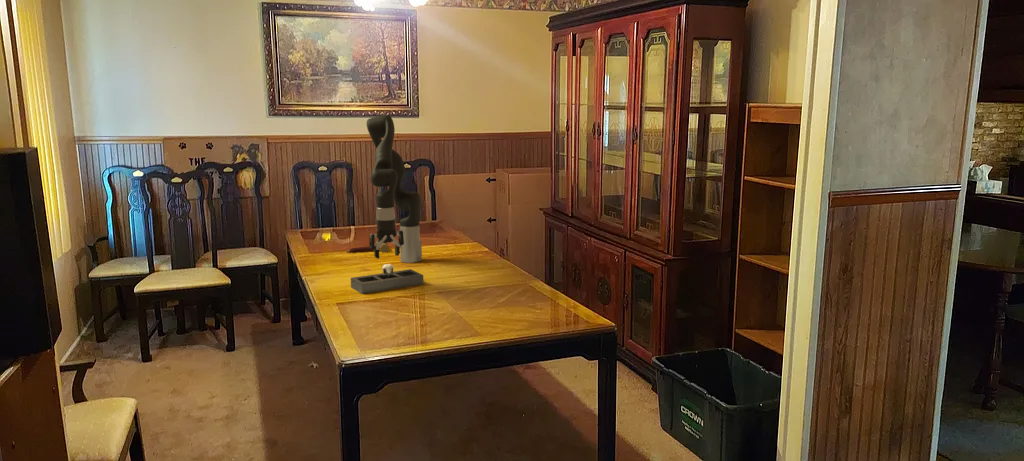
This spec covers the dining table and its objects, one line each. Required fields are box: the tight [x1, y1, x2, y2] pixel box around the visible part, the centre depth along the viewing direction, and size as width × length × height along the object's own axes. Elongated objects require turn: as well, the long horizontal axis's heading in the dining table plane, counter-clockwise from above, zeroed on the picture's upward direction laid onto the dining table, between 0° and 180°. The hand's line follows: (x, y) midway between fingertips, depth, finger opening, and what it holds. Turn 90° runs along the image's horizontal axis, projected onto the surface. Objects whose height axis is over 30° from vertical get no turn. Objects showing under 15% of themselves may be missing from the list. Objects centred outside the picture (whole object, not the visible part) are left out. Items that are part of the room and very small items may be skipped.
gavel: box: [345, 242, 390, 254], centre depth 354 cm, size 21×5×10 cm
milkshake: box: [379, 262, 394, 279], centre depth 288 cm, size 5×5×10 cm
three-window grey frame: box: [350, 268, 424, 295], centre depth 289 cm, size 27×12×4 cm, turn 124°
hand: (387, 256), depth 287 cm, fingers open, 8 cm apart
